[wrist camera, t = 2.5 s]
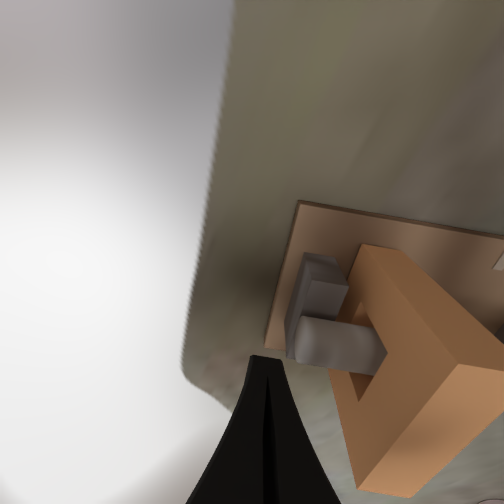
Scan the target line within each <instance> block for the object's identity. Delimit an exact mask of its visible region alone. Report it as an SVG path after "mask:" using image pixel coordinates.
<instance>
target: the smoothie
mask: <svg viewBox="0 0 504 504" xmlns="http://www.w3.org/2000/svg"><path fill="white" fill-rule="evenodd" d="M478 504H504V500H486V501H483V502H480V503H478Z"/></svg>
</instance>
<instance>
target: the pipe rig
mask: <svg viewBox="0 0 504 504" xmlns="http://www.w3.org/2000/svg"><path fill="white" fill-rule="evenodd" d="M362 244H366V245H372V246H377V247H383V248H389V249H395V250H400V251H402V252H404V253H405V254H406V255H407V256H408V257H409V258H410V259H411V260H412V261H413V262H414V263H416V264H417V265H418V266H419V267H420V268H421V269H422V270H423V271H424V272H425V273H426V274H428V275H429V276H430V277H431V278H432V279H433V280H434V281H435V282H436V283H437V284H438V285H439V286H441V287H442V288H443V289H444V290H445V291H446V292H447V293H448V294H449V295H450V296H451V297H453V298H454V299H455V300H456V301H457V302H458V303H459V304H460V305H461V306H462V307H463V308H465V309H466V310H467V311H468V312H469V313H470V314H471V315H472V316H473V317H474V318H475V319H476V320H478V321H479V322H480V323H481V324H482V325H483V326H484V327H485V328H486V329H487V330H488V331H490V332H491V333H492V334H493V335H494V336H495V337H496V338H497V339H498V340H499V341H500V342H502V343H503V344H504V236H501V235H496V234H490V233H484V232H479V231H473V230H467V229H462V228H456V227H450V226H444V225H439V224H433V223H427V222H422V221H416V220H410V219H405V218H399V217H393V216H388V215H382V214H376V213H371V212H365V211H359V210H353V209H348V208H342V207H336V206H331V205H325V204H319V203H314V202H308V201H302V200H298V204H297V208H296V212H295V216H294V220H293V224H292V228H291V232H290V236H289V240H288V244H287V248H286V252H285V256H284V260H283V264H282V268H281V272H280V276H279V280H278V284H277V288H276V292H275V296H274V300H273V304H272V308H271V312H270V316H269V320H268V324H267V328H266V332H265V336H264V347H265V348H271V349H277V350H283V351H286V358H289V359H295V360H296V361H297V363H301V364H307V365H313V366H319V367H325V368H331V369H337V370H343V371H349V372H355V373H360V374H366V375H372V376H375V374H376V372H377V371H378V369H379V367H380V366H381V364H382V362H383V361H384V359H385V357H386V356H387V354H388V352H387V350H386V348H385V347H384V345H383V343H382V341H381V339H380V337H379V335H378V333H377V331H376V329H375V328H371V327H365V326H359V325H353V324H348V323H342V322H336V321H335V320H336V317H337V315H338V313H339V310H340V308H341V305H342V303H343V300H344V298H345V296H346V293H347V291H348V288H349V285H348V283H347V279H348V277H349V274H350V272H351V269H352V267H353V264H354V262H355V259H356V257H357V254H358V252H359V249H360V247H361V245H362Z"/></svg>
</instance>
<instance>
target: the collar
mask: <svg viewBox="0 0 504 504" xmlns="http://www.w3.org/2000/svg"><path fill="white" fill-rule="evenodd" d="M347 283H348V285H349V288H348V291H347V293H346V296H345V298H344V300H343V303H342V305H341V308H340V310H339V313H338V315H337V317H336V320H335V321H336V322H342V323H348V324H353V325H359V326H365V327H371V328H375V329H376V331H377V333H378V335H379V337H380V339H381V341H382V343H383V345H384V347H385V348H386V350H387V352H388V354H387V356H386V357H385V359H384V361H383V362H382V364H381V366H380V367H379V369H378V371H377V372H376V374H375V376H372V375H366V374H360V373H355V372H349V371H343V370H337V369H331V368H328V371H329V376H330V380H331V384H332V388H333V392H334V396H335V400H336V405H337V409H338V413H339V417H340V421H341V425H342V429H343V434H344V438H345V442H346V446H347V450H348V454H349V459H350V463H351V467H352V471H353V475H354V479H355V483H356V488H357V490H363V491H369V492H375V493H381V494H388V495H394V496H400V497H406V498H411V497H412V496H413V495H414V494H415V493H416V492H417V491H419V490H420V489H421V488H422V487H423V486H424V485H425V484H426V483H427V482H428V481H429V480H430V479H431V478H433V477H434V476H435V475H436V474H437V473H438V472H439V471H440V470H441V469H442V468H443V467H444V466H445V465H446V464H448V463H449V462H450V461H451V460H452V459H453V458H454V457H455V456H456V455H457V454H458V453H459V452H460V451H461V450H463V449H464V448H465V447H466V446H467V445H468V444H469V443H470V442H471V441H472V440H473V439H474V438H475V437H477V436H478V435H479V434H480V433H481V432H482V431H483V430H484V429H485V428H486V427H487V426H488V425H489V424H490V423H492V422H493V421H494V420H495V419H496V418H497V417H498V416H499V415H500V414H501V413H502V412H503V411H504V344H503V343H502V342H500V341H499V340H498V339H497V338H496V337H495V336H494V335H493V334H492V333H491V332H490V331H488V330H487V329H486V328H485V327H484V326H483V325H482V324H481V323H480V322H479V321H478V320H476V319H475V318H474V317H473V316H472V315H471V314H470V313H469V312H468V311H467V310H466V309H465V308H463V307H462V306H461V305H460V304H459V303H458V302H457V301H456V300H455V299H454V298H453V297H451V296H450V295H449V294H448V293H447V292H446V291H445V290H444V289H443V288H442V287H441V286H439V285H438V284H437V283H436V282H435V281H434V280H433V279H432V278H431V277H430V276H429V275H428V274H426V273H425V272H424V271H423V270H422V269H421V268H420V267H419V266H418V265H417V264H416V263H414V262H413V261H412V260H411V259H410V258H409V257H408V256H407V255H406V254H405V253H404V252H402V251H400V250H395V249H389V248H383V247H377V246H372V245H366V244H362V245H361V247H360V249H359V252H358V254H357V257H356V259H355V262H354V264H353V267H352V269H351V272H350V274H349V277H348V279H347Z"/></svg>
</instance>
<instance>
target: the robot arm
mask: <svg viewBox="0 0 504 504" xmlns="http://www.w3.org/2000/svg"><path fill="white" fill-rule="evenodd" d="M186 504H341V502H340V500H339V499H338V497H337V495H336V493H335V491H334V489H333V487H332V486H331V484H330V482H329V480H328V478H327V476H326V474H325V472H324V470H323V468H322V466H321V464H320V462H319V460H318V458H317V455H316V453H315V451H314V449H313V447H312V444H311V442H310V440H309V438H308V435H307V433H306V431H305V428H304V426H303V423H302V421H301V418H300V416H299V413H298V410H297V408H296V405H295V402H294V400H293V397H292V394H291V391H290V388H289V385H288V381H287V378H286V374H285V371H284V367H283V363H282V361H281V359H275V358H269V357H263V356H257V355H252V356H250V360H249V364H248V368H247V373H246V377H245V382H244V386H243V389H242V391H241V394H240V397H239V400H238V402H237V405H236V407H235V409H234V412H233V414H232V416H231V419H230V421H229V423H228V426H227V428H226V430H225V432H224V434H223V436H222V438H221V440H220V442H219V444H218V446H217V448H216V450H215V452H214V454H213V456H212V458H211V460H210V462H209V463H208V465H207V467H206V469H205V471H204V472H203V474H202V476H201V478H200V480H199V482H198V483H197V485H196V487H195V488H194V490H193V492H192V494H191V495H190V497H189V498H188V500H187V502H186Z"/></svg>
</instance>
